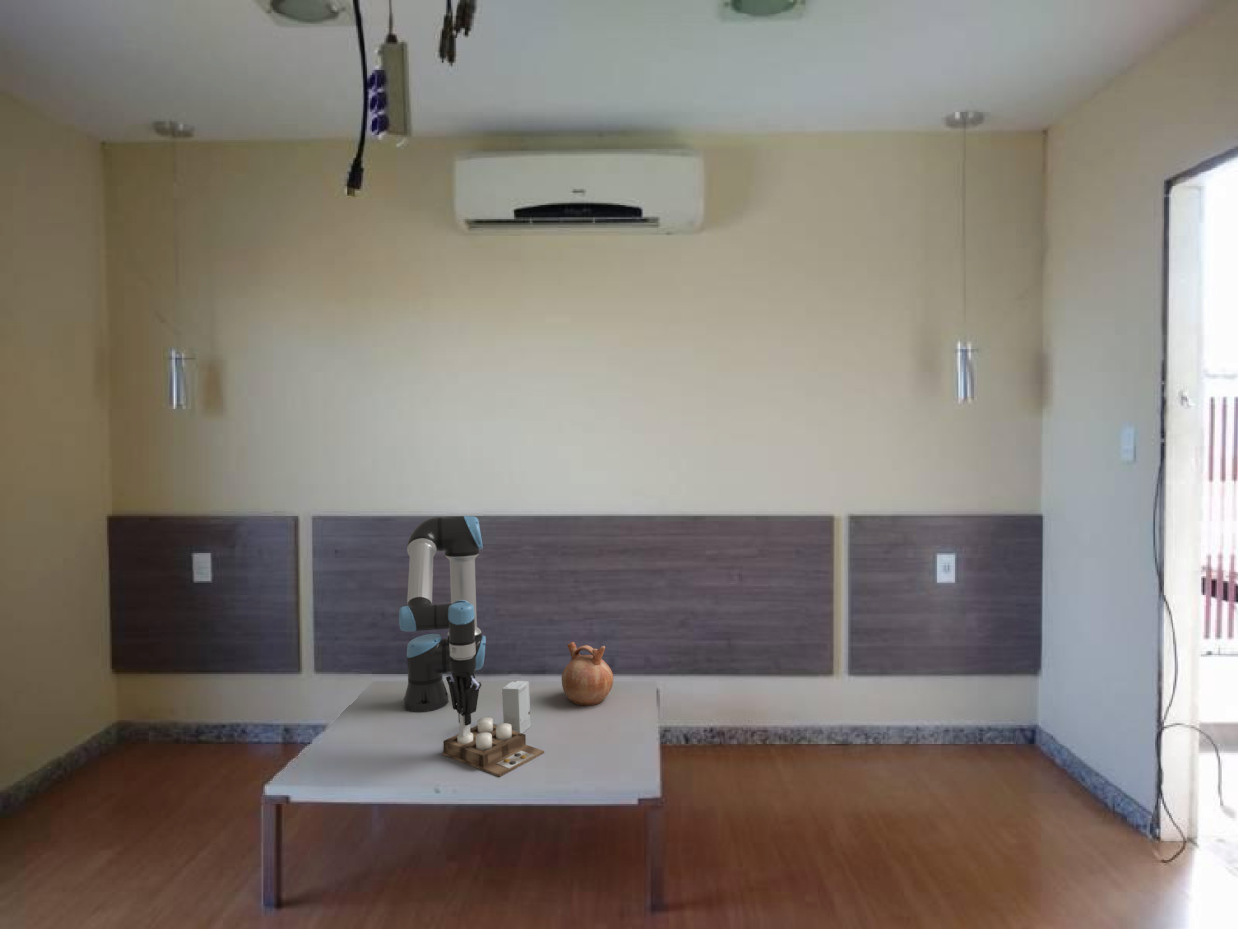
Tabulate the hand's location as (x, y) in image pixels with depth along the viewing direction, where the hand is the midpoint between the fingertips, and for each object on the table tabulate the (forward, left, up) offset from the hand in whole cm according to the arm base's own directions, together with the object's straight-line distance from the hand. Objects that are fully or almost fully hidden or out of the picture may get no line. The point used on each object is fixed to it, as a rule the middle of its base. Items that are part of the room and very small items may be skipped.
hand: (465, 734), depth 224 cm
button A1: (0, 0, -4) cm, 4 cm away
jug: (+3, +53, -6) cm, 53 cm away
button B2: (+8, +8, -2) cm, 12 cm away
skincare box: (+1, +20, -6) cm, 21 cm away
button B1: (+8, 0, -2) cm, 8 cm away
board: (+7, +4, -5) cm, 10 cm away
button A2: (0, +8, -2) cm, 8 cm away
